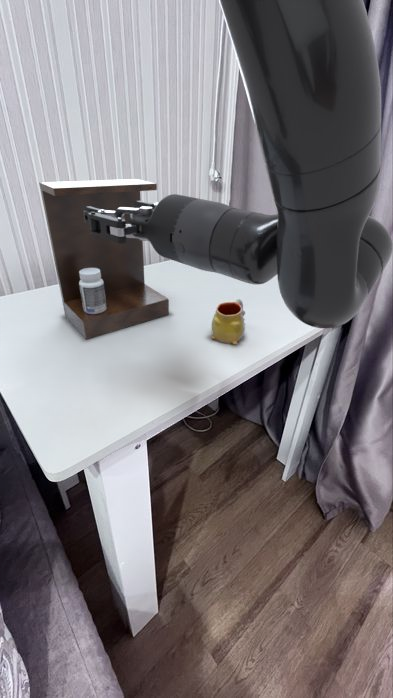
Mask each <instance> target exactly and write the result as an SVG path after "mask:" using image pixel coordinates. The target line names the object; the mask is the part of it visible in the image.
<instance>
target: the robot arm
mask: <svg viewBox="0 0 393 698" xmlns="http://www.w3.org/2000/svg"><path fill="white" fill-rule="evenodd" d="M218 3H219V6H220V10H221V12H222V15H223V19H224V22H225V25H226V29H227V32H228V35H229V38H230V42H231V45H232V48H233V52H234V55H235V58H236V59H235V60H236V62H237V65H238V68H239V72H240V76H241V80H242V82H243V83H242V84H243V86H244V90H245V93H246V97H247V101H248V104H249V108H250V112H251V115H252V120H253V122H254V127H255V131H256V134H257V139H258V143H259V147H260V151H261V155H262V160H263V163H264V167H265V171H266V175H267V178H268V182H269V186H270V190H271V194H272V197H273V202H274V205H275V207H276V211H277V213H275V214H265V213H261V212H255V211H250V210H246V209H241V208H237V207H233V206H230V205H227V204H225V203H222V202H218V201H215V200H214V201H213V200H208V199H203V198H197V197H193V196H187V195H182V194H177V193H174V194H173V193H172V194H169V195H166V196H164V197H163V198H162V199H161V200H159V201H158V202H154V203H152V202H147V201H143V200H141V201H135V202H134V208H127V207H120V208H118V209H117V210H116V211H108V210H104V209H98V208H94V207H91V206H88V207H85V208H84V211H83V212H84V220H85V223H87V224H88V225H90V234H91V235H94V236H97V237H100V238H103V239H107V240H110V241H113V242H117V243H120V244H123V243H126V242H127V238H138V239H140V240H141V241H143V242H149V243H150V244H151V246H152V248H153V249H154V251H155V252H156V253H157V254H158V255H159V256H160V257H163V258H166V259H168V260H170V261H174V262H176V263H180V264H183V265H185V266H189V267H191V268H194V269H197V270H201V271H205V272H209V273H215V274H219V275H222V276H225V277H228V278H232V279H235V280H237V281H240V282H243V283H246V284H250V285H255V286H256V285H257V286H258V285H259V286H260V285H264V284H266V283H268V282H270V281H271V280H272V279H273V278H275V277H276V276H277V277H276V278H277V283H278V284H277V285H278V288H279V293H280V295H281V298H282V301H283V303H284V304H285V306H286V307H287V309H288V310H289V312H290V313H291V314H292V315H293V316H294V317H295V318H296V319H297V320H298V321H300V322H301V323H303V324H305V325H307V326H310V327H312V328H317V329H322V330H323V329H334V328H337V327H340V326H343V325H345V324H347V323H348V322H350V320H351V321H352V319H353V318H354V317H355V316H356V315H357V314H358V312H359V311H360V310H361V308H362V307H363V305H364V303H365V302H366V300H367V298H369V297H368V296H369V295H370V293H371V292H372V290H373V289H374V287H375V285H376V283H377V282H378V280H379V278H380V277H381V275H382V274H383V272H384V271H385V269H386V267H387V265H388V263H389V261H390V260H391V258H392V254H393V238H392V235H391V234H390V232H389V230H388V229H387V228H386V226H384V225H383V223H381V222H380V221H379V220H377V219H376V218H374V217H372V216H371V212H372V211H373V208H374V206H375V204H376V201H377V198H378V195H379V189H380V183H381V182H380V181H381V171H382V170H381V169H382V168H381V167H382V166H381V164H382V163H381V162H382V161H381V157H382V85H381V76H380V68H379V62H378V56H377V49H376V46H375V41H374V36H373V32H372V27H371V23H370V20H369V16H368V12H367V9H366V5H365V1H364V0H218ZM124 214H131V215H130V217H129V220H130V224H126V222H125V220H124Z"/></svg>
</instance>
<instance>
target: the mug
mask: <svg viewBox="0 0 393 698" xmlns="http://www.w3.org/2000/svg"><path fill="white" fill-rule="evenodd" d="M243 303H244V302H243V300H241V299H236V300H235V301H228V302H222V303H219V304H218V305H217V307H216V309H215V313H214V314H213V316H212V320H211V333H212V335H211V336H210V338H211V340H217V341H218V342H221V343H225V344H232V345H238V342H239V341H240V340H241V339H242V338H243V336H244V334H245V331H246V322H245V320H246V319H245V317H244V316H245V315H246V311H245V310H244V304H243Z"/></svg>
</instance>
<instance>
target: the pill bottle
mask: <svg viewBox="0 0 393 698" xmlns="http://www.w3.org/2000/svg"><path fill="white" fill-rule="evenodd" d="M79 274H80V279H81V280H80V282H79V286H80V292H81V299H82V304H83V310H84V311H85V312H86V313H88V314H99V313H102V312H104V311H105V310H106V308H107V306H106V298H105V290H104V282H103V280H102V279H101V273H100V270H99V269H98V268H85V269H82V270H80V271H79Z"/></svg>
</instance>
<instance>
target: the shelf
mask: <svg viewBox="0 0 393 698" xmlns="http://www.w3.org/2000/svg"><path fill="white" fill-rule="evenodd" d="M39 189H40V194H41V200H42V205H43V211H44V215H45V220H46V225H47V230H48V235H49V240H50V245H51V250H52V251H51V252H52V255H53V256H52V257H53V261H54V266H55V270H56V276H57V281H58V286H59V291H60V292H59V293H60V297H61V301H62V307H63V311H64V316H65V318H66V319H67V320H68V321H69V323H71V325H73V327H74V328H75V329H76V330H77V331H78V332H79V333H80V334H81V336H82V337H83V338H84V339H85V340H89V339H92V338H96V337H99V336H103V335H105V334H110V333H113V332H115V331H119V330H122V329H125V328H129V327H133V326H135V325H139V324H142V323H143V324H144V323H146V322H149V321H152V320H156V319H159V318H162V317H166V316H169V314H170V298H168V297H166V296H165V295H163V294H162V293H160V292H158V291H157V290H156V289H154V288H152V287H150V286H149V285H147V284H146V283H145V281H146V280H145V263H144V262H145V261H144V241H141V240H140V239H138V238H127V242H126V243H123V244H120V243H117V242H113V241H110V240H107V239H103V238H100V237H97V236H94V235H91V234H90V225H88V224H87V223H85V220H84V212H83V211H84V208H85V207H88V206H91V207H94V208H98V209H104V210H108V211H116V210H117V209H118V208H120V207H127V208H134V202H135V201H142V200H141V199H142V197H141V192H150V191H151V192H152V191H158V184H157V183H155V182H151V181H147V180H143V179H138V178H126V179H123V178H122V179H98V180H97V179H96V180H71V181H69V180H68V181H46V182H45V181H44V182H39ZM130 215H131V214H124V220H125V222H126V224H130V220H129V217H130ZM85 268H98V269H99V270H100V273H101V279H102V280H103V282H104V290H105V298H106V306H107V308H106V310H105V311H104V312H102V313H99V314H88V313H86V312H85V311H84V310H83V304H82V299H81V292H80V286H79V282H80V280H81V279H80V274H79V271H80V270H82V269H85Z"/></svg>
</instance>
